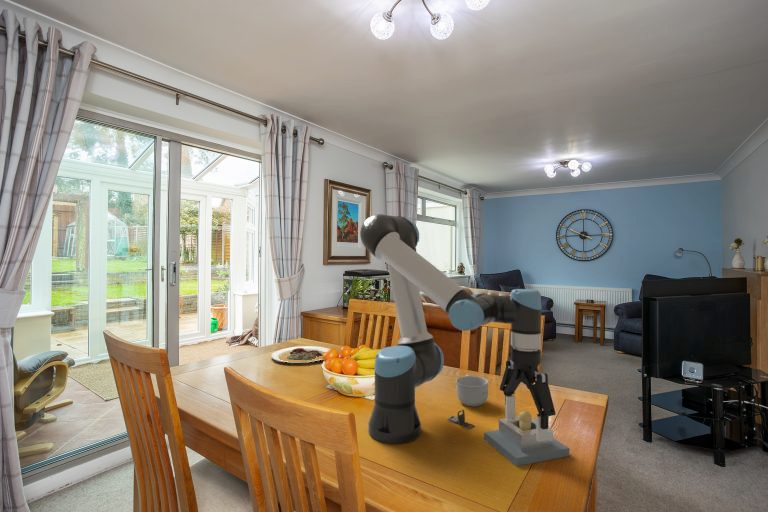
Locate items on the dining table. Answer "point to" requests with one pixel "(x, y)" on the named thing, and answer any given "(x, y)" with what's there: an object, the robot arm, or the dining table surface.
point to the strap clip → (460, 420)
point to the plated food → (300, 353)
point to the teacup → (472, 390)
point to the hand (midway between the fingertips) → (525, 429)
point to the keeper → (529, 455)
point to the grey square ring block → (523, 434)
